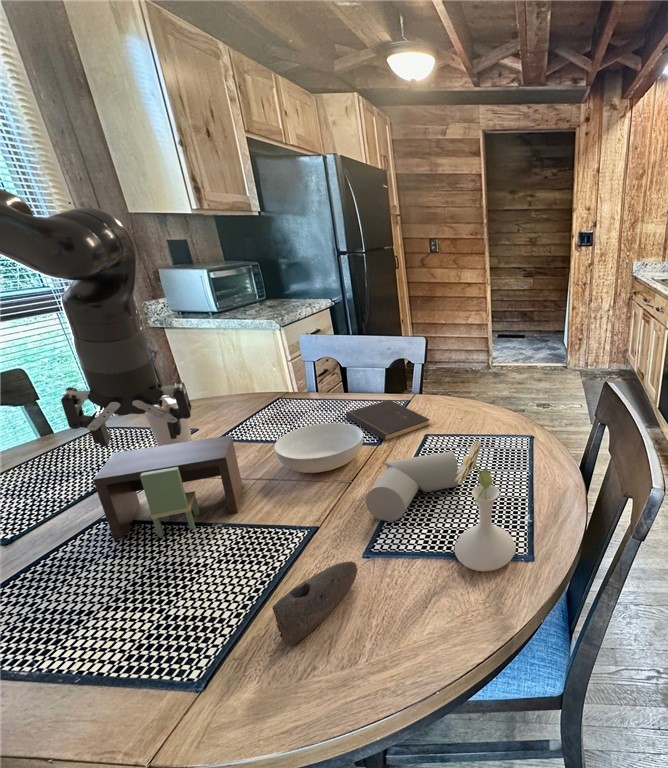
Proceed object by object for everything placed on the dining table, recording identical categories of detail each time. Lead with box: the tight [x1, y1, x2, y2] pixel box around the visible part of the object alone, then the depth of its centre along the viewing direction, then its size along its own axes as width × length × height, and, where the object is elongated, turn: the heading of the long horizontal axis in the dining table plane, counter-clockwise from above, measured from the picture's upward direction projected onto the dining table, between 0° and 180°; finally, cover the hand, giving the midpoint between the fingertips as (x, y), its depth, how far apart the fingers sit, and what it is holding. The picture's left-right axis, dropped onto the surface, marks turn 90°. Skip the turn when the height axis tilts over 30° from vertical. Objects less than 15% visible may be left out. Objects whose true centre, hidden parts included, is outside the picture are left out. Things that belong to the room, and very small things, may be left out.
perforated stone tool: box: [272, 561, 358, 648], centre depth 64 cm, size 15×5×7 cm, turn 152°
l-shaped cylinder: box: [365, 450, 460, 522], centre depth 94 cm, size 18×11×20 cm
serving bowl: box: [273, 422, 364, 474], centre depth 107 cm, size 21×21×7 cm
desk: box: [92, 435, 243, 541], centre depth 86 cm, size 11×20×14 cm, turn 117°
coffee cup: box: [143, 394, 193, 446], centre depth 108 cm, size 10×10×15 cm
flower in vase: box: [454, 439, 516, 572], centre depth 74 cm, size 13×11×25 cm
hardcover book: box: [346, 399, 431, 442], centre depth 133 cm, size 16×23×2 cm
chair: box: [140, 467, 200, 538], centre depth 81 cm, size 6×6×14 cm
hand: (141, 439), depth 68 cm, fingers open, 8 cm apart
